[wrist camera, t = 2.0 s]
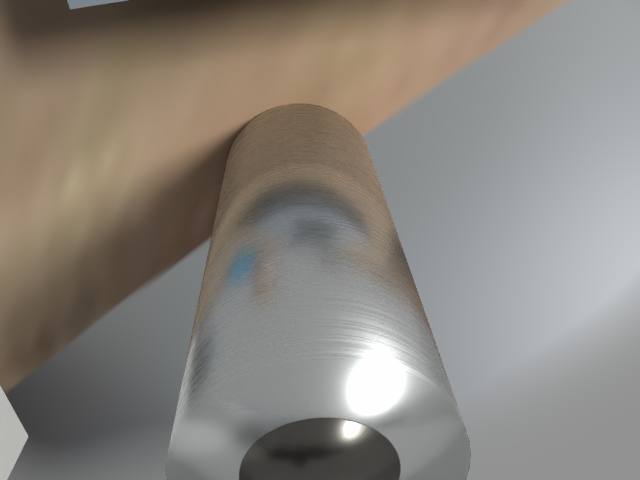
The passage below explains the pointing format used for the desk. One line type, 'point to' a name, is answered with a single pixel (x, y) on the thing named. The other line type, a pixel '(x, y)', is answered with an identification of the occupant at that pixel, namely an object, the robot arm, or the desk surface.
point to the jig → (89, 3)
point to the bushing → (311, 324)
